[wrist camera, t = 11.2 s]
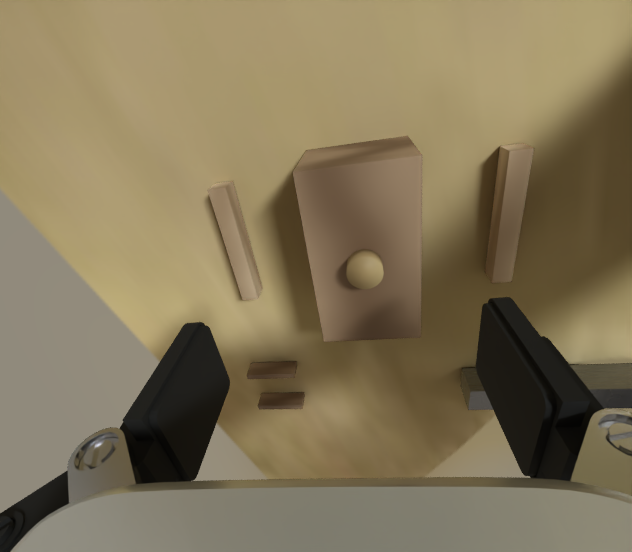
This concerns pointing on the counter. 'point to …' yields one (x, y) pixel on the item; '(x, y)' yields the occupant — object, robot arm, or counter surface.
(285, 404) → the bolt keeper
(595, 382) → the bar
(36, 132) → the counter surface
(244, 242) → the bolt guide rails
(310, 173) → the cap block
